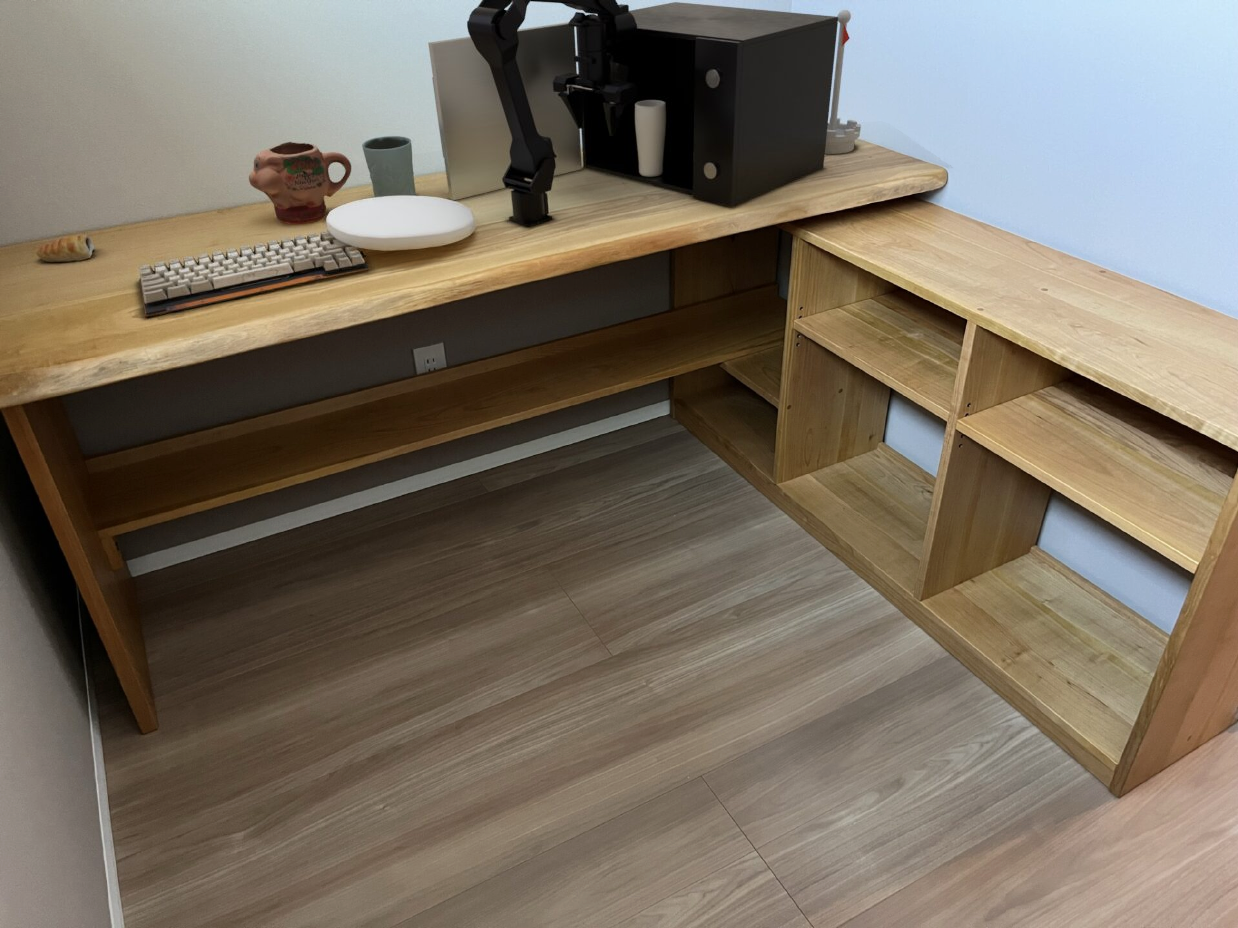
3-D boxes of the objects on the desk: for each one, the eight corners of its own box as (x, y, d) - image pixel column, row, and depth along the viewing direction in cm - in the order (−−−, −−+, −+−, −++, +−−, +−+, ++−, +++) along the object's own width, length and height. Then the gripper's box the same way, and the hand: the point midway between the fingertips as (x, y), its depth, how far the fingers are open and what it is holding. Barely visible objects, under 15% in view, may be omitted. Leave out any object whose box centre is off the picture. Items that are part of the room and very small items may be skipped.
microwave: (728, 209, 181) (735, 42, 163) (575, 170, 206) (567, 22, 189) (823, 168, 202) (838, 17, 184) (674, 138, 227) (675, 2, 210)
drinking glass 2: (638, 169, 202) (637, 99, 193) (668, 170, 201) (668, 100, 192) (633, 178, 196) (631, 106, 188) (663, 179, 195) (663, 107, 187)
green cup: (404, 189, 198) (395, 133, 191) (429, 199, 192) (420, 141, 185) (363, 200, 193) (352, 143, 186) (387, 210, 186) (377, 151, 180)
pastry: (36, 266, 165) (28, 247, 163) (44, 254, 171) (36, 235, 169) (92, 259, 168) (84, 239, 166) (97, 247, 173) (90, 228, 171)
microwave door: (437, 193, 195) (415, 39, 177) (564, 163, 211) (556, 19, 194) (453, 200, 190) (431, 43, 173) (581, 169, 206) (574, 23, 189)
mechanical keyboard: (146, 318, 145) (139, 299, 143) (138, 280, 159) (132, 261, 157) (375, 271, 159) (371, 253, 157) (349, 240, 173) (345, 223, 171)
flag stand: (796, 142, 220) (807, 7, 204) (848, 139, 221) (863, 4, 205) (811, 156, 210) (824, 15, 193) (865, 153, 211) (883, 12, 194)
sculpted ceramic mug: (351, 199, 193) (338, 133, 185) (365, 215, 184) (352, 146, 176) (256, 216, 186) (238, 147, 178) (265, 233, 177) (247, 162, 169)
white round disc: (419, 183, 184) (505, 212, 170) (419, 215, 188) (504, 246, 173) (296, 196, 165) (381, 230, 151) (298, 231, 168) (382, 267, 154)
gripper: (655, 48, 174) (656, 130, 183) (587, 39, 185) (591, 117, 194) (616, 57, 167) (619, 142, 176) (548, 47, 178) (554, 128, 187)
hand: (596, 132), depth 184 cm, fingers open, 9 cm apart
